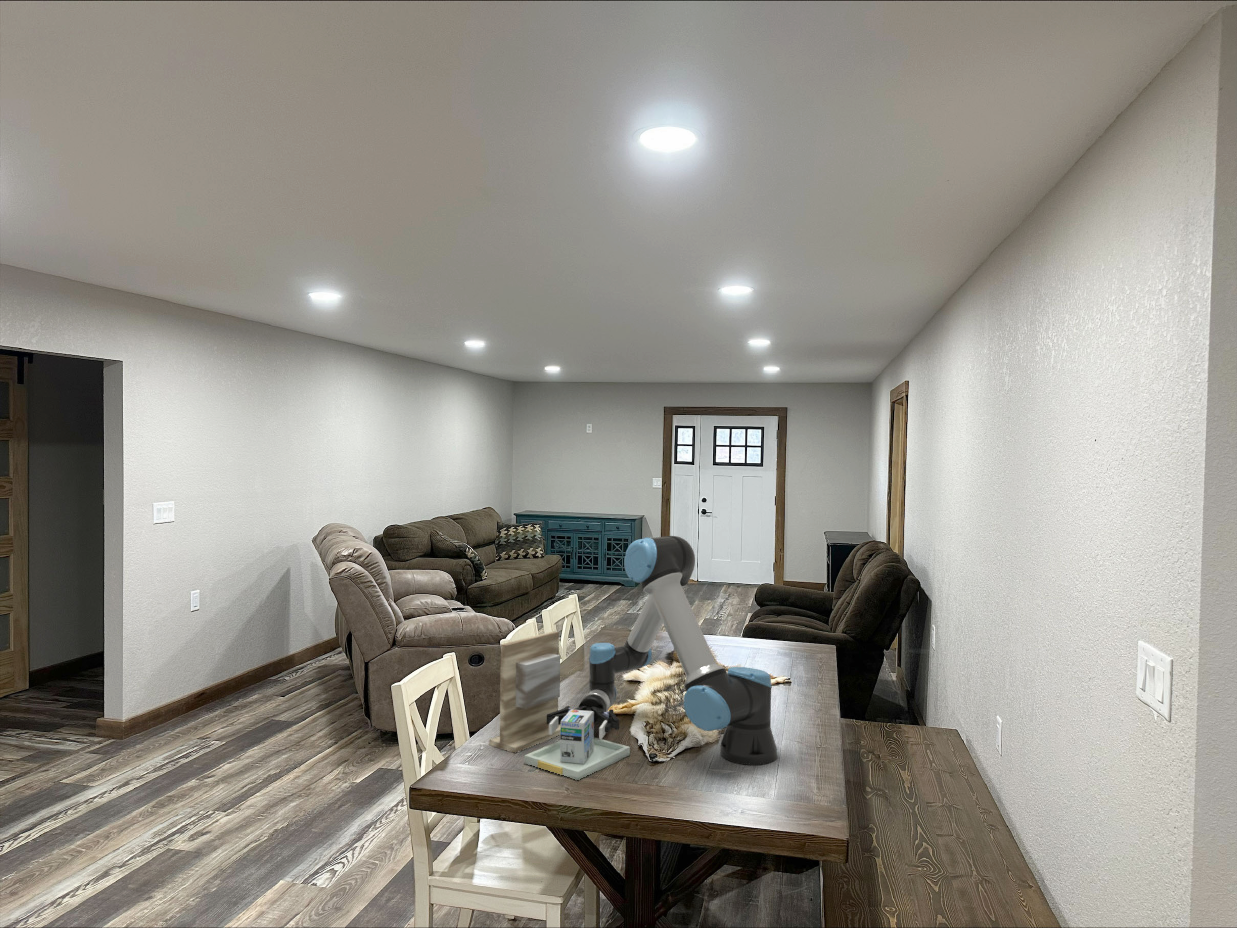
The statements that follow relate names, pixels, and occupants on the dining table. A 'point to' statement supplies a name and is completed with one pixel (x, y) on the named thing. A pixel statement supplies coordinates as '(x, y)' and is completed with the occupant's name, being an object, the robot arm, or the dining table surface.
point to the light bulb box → (577, 736)
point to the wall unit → (528, 691)
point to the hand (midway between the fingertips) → (575, 731)
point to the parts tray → (598, 760)
